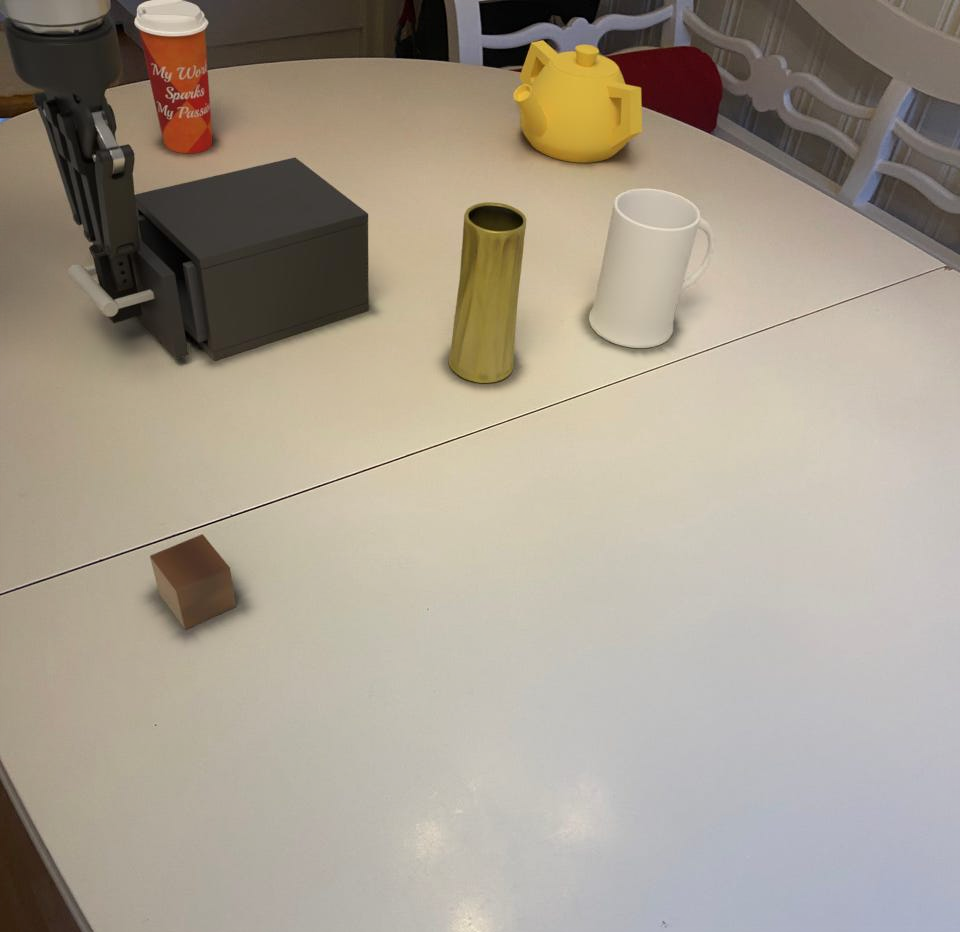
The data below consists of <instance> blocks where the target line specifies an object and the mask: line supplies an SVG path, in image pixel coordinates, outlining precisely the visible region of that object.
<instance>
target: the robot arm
mask: <svg viewBox="0 0 960 932" xmlns="http://www.w3.org/2000/svg"><path fill="white" fill-rule="evenodd" d="M110 10H111V0H0V13H1V14H2V15H3V16H4V17H5V19H4V21H3V23H2V27H3V31H4V35H5V38H6V43H7V46H8V49H9V50H8V51H9V54H10V58H11V62H12V65H13V69H14V72H15V74H16V76H17V78H19V80H20V81H22V82H23V83H25V84H26V85H27V86H29V87H31V88H34V89H37V90H40V91H41V92H34V93H33V102H34V106H36V109H37V111H38V114H39V116H40V119H41V120H42V123H43V125H44V128H45V131H46V134H47V138H48V141H49V144H50V147H51V151H52V153H53V156H54V160H55V162H56V166H57V169H58V172H59V176H60V179H61V183H62V185H63V188H64V191H65V195H66V198H67V201H68V204H69V208H70V210H71V213H72V218H73V221H74V222H75V224H76V225H77V226H82V229H83V235H84V238H85V239H86V241H88V243H92V244H91V245H89V247H88V250H89V253H90V255H91V256H92V260H93V265H95V269H96V273H97V274H96V276H97V282H98V284H99V285H100V286H101V287H102V288H103V289H104V290H105V291H106V292H107V294H108V295H109V296H110V297H111V298H112V299H113V300H115V299H118V298H122V297H125V296H129V295H132V294H136V293H138V290H137V285H136V281H135V276H134V271H133V266H132V261H131V257H130V253H133V252H137V251H139V250H140V245H139V235H138V224H137V214H136V203H135V194H136V193H135V183H134V168H135V161H136V159H135V151H134V150H133V148H132V146H131V145H130V144H129V143H126V144H123V145H122V144H121V145H119V144H118V142H117V138H116V132H117V121H116V116H115V113H114V110H113V108H112V106H111V104H110V103H109V102H108V99H107V97H106V91H107V90H108V88H109V87H110V86H111V85H112V84H114V83H115V82H117V81H118V80H119V79H120V77H122V74H123V70H124V65H123V61H122V60H123V59H122V54H121V50H120V44H119V39H118V33H117V28H116V23H115V21H114V19H113V18H112V17H111V16H110V15H109V13H108V12H109V11H110ZM140 315H143V314H142V310H141V305H140V303H137V304H134V305H130V306H127V307H123V308H120V309H118V312H117V314H116V315H114V316H112V317H108V319H109V320H110V321H111V322H112V323H113V324H117V323H121V322H124V321H127V320H131V319H134V318H138V317H137V316H140Z"/></svg>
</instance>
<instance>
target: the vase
mask: <svg viewBox="0 0 960 932" xmlns="http://www.w3.org/2000/svg"><path fill="white" fill-rule="evenodd" d="M462 226H463V228H462V242H461V243H462V244H461V254H460V271H459V280H458V281H459V282H458V289H457V296H456V302H455V303H456V304H455V311H454V320H453V327H452V336H451V344H450V345H451V346H450V352H449V356H448V365H449V367H450V369H451V370H452V371H453V372H454V373H455V374H456V375H458V377H460V378H461V379H464V380H467V381H469V382H473V383H479V384H489V383H496V382H500V381H502V380H504V379H506V378H507V377H508V376H509V375H510V374H511V373H512V372H513V370H514V367H515V366H514V353H515V344H516V331H517V330H516V329H517V313H518V303H519V300H518V299H519V293H520V284H521V274H522V264H523V255H524V246H525V237H526V236H525V235H526V228H527V217H526V215H525V214H524V213H523V212H522V211H521V210H520V209H517V208H516V207H514V206H512V205H509V204H506V203H502V202H493V201H492V202H491V201H489V202H480V203H479V202H478V203H476V204H473V205H472V206H470V207H468V208H467V209H466V211H465V212H464V215H463V225H462Z"/></svg>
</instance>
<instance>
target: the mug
mask: <svg viewBox="0 0 960 932" xmlns="http://www.w3.org/2000/svg"><path fill="white" fill-rule="evenodd" d="M699 229H700V230H701V231H703V232H704V233H705V235H706V237H707V248H706V249H707V250H706V252H705V255H704V257H703V260H702V262H701V263H700V265H699V266H698V267H697V269H696V270H695V271H694V272H693V273H692V274H691V275H690V276H688V277H687V278H686V279H685V277H686V274H687V271H688V266H689V262H690V258H691V254H692V251H693V248H694V244H695V241H696V240H695V239H696V236H697V232H698V230H699ZM605 241H606V242H605V247H604V252H603V257H602V261H601V266H600V272H599V277H598V281H597V287H596V292H595V297H594V300H593V301H594V302H593V304H592V307H591V309H590V312H589V316H588V321H589V325H590V326H591V328H592V330H593V331H594V332H595V333H596V334H597V335H598V336H600V337H601V338H602V339H604V340H606V341H608V342H609V343H612V344H614V345H618V346H622V347H625V348H633V349H648V348H654V347H658V346H660V345H662V344H664V343H666V342H667V341H668V340H669V339H670V338H671V337H672V335H673V331H674V319H675V315H676V312H677V307H678V304H679V299H680V296H681V293H683V292H686V290H688V289H689V288H690V287H692V286H693V285H695V284H696V282H698V281H699V279H700V278H701V277H702V276H703V275H704V274H705V272H706V270H707V269H708V268H709V265H710V263H711V261H712V258H713V255H714V251H715V245H716V244H715V241H716V240H715V234H714V231H713V229H712V227H711V225H710V224H709V223H708V221H707V220H705V219H704V218H702V217H701V211H700V209H699V208H698V206H696V204H695V203H693V202H692V201H691V200H689V199H688V198H686V197H684V196H681V195H679V194H678V193H675V192H671V191H667V190H663V189H658V188H643V187H642V188H633V189H629V190H625V191H623V192H621V193H620V194H618V195H617V196H616V197H615V199H614V200H613V206H612V210H611V216H610V221H609V226H608V231H607V236H606V240H605Z"/></svg>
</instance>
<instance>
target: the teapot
mask: <svg viewBox="0 0 960 932" xmlns="http://www.w3.org/2000/svg"><path fill="white" fill-rule="evenodd" d="M574 48H575V49H574V51H572V50H571V51H564V52H560V53H558V52H557V51H556V50H555V49H554V48H553V47H551V46H550V45H549V44H548V43H547V42H545V40H543V39H542V40H538V41H533V42H531V43H530V45H529V49H528V51H527V55H526V57H525V61H524V63H523V66H522V68H521V72H520V74H519V79H520V81H521V84H522V85H519V86H518V87H517V88H516V89H515V90H514V92H513V100H514V101H515V103H516V105H517V106H518V108H519V110H520V116H519V125H520V128H521V131H522V133H523V135H524V136H525V138H526V140H527V141H528V142H529V144H530V145H531V146H532V147H533V149H535V150H536V151H538V152H539V153H541V154H543V155H545V156H547V157H550V158H552V159H556V160H560V161H565V162H569V163H570V162H571V163H578V164H579V163H581V164H582V163H583V164H586V163H587V164H588V163H597V162H602V161H605V160H608V159H610V158H612V157H614V156H615V155H616V154H617V153H618V152H619V151H620V150H622V149H623V148H624V147H625V146H626V145H627V144H628V142H629V141H630V140H632V139H633V138H635V137H637V135H640V134H641V133H642V132H643V112H642V111H643V110H642V108H643V107H642V106H643V105H642V87H640V86H636V85H631V84H626V82H625V79H624V75H623V74H622V71H621V70H620V67H619V65H618V64H617V63H616V62H615V61H613V60H612V59H610V58H608V57H607V56H604V55H601V54H599V53H600V50H599V48H598V47H596V46H594V45H591V44H584V43H583V44H579V45H576V46H575V47H574Z"/></svg>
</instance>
